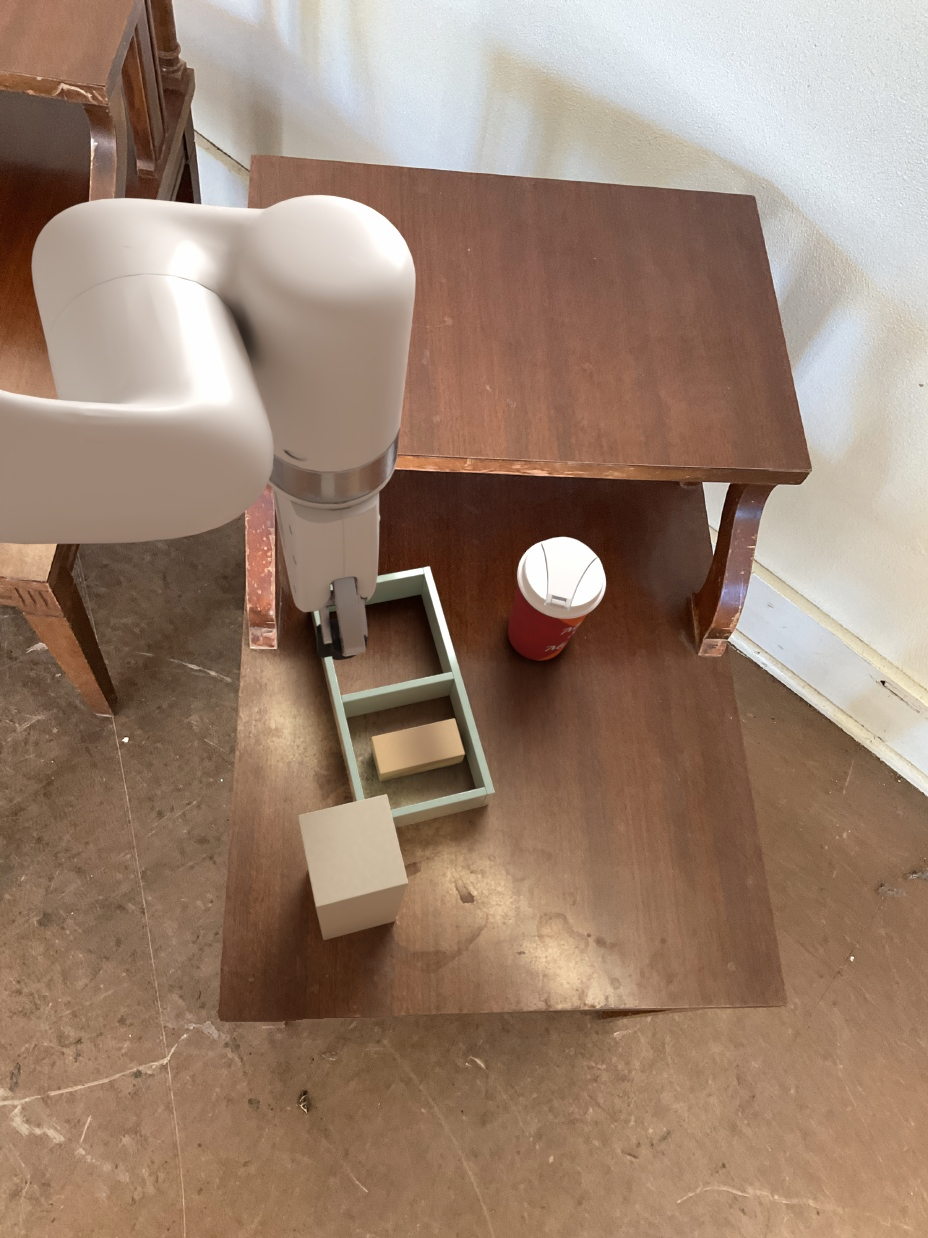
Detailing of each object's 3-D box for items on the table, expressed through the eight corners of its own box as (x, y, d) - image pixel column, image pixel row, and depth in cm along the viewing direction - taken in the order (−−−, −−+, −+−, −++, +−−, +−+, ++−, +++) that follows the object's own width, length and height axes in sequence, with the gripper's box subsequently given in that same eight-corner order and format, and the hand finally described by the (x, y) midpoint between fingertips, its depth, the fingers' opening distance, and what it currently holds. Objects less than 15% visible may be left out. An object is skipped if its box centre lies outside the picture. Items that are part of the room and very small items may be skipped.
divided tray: (361, 840, 79) (361, 825, 74) (310, 615, 88) (308, 588, 83) (486, 808, 81) (495, 792, 76) (425, 593, 90) (429, 566, 85)
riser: (323, 942, 75) (315, 907, 57) (309, 870, 77) (297, 815, 59) (394, 923, 76) (408, 883, 58) (378, 853, 79) (386, 793, 61)
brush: (378, 786, 80) (380, 774, 77) (370, 750, 82) (371, 736, 78) (460, 767, 82) (465, 754, 78) (450, 732, 83) (455, 717, 80)
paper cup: (566, 683, 87) (602, 621, 75) (488, 664, 87) (511, 598, 75) (579, 613, 91) (616, 542, 78) (504, 594, 91) (529, 520, 78)
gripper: (229, 313, 50) (253, 489, 65) (281, 591, 43) (294, 714, 58) (364, 301, 51) (356, 475, 67) (435, 566, 45) (409, 692, 60)
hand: (327, 586), depth 62 cm, fingers open, 9 cm apart
